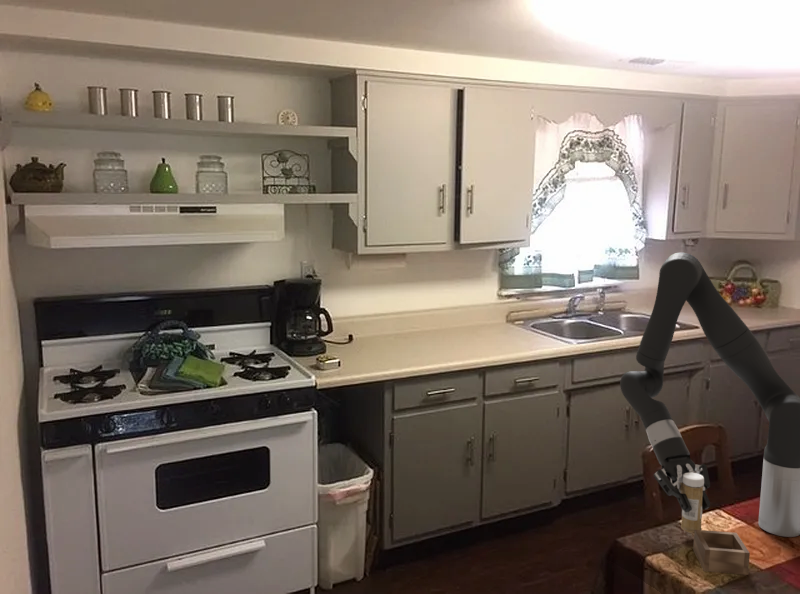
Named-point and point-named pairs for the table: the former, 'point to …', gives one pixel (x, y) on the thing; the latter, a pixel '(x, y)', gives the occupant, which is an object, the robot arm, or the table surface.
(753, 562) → the table surface
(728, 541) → the open square sleeve
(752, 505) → the table surface
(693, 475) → the sprinkles bottle
